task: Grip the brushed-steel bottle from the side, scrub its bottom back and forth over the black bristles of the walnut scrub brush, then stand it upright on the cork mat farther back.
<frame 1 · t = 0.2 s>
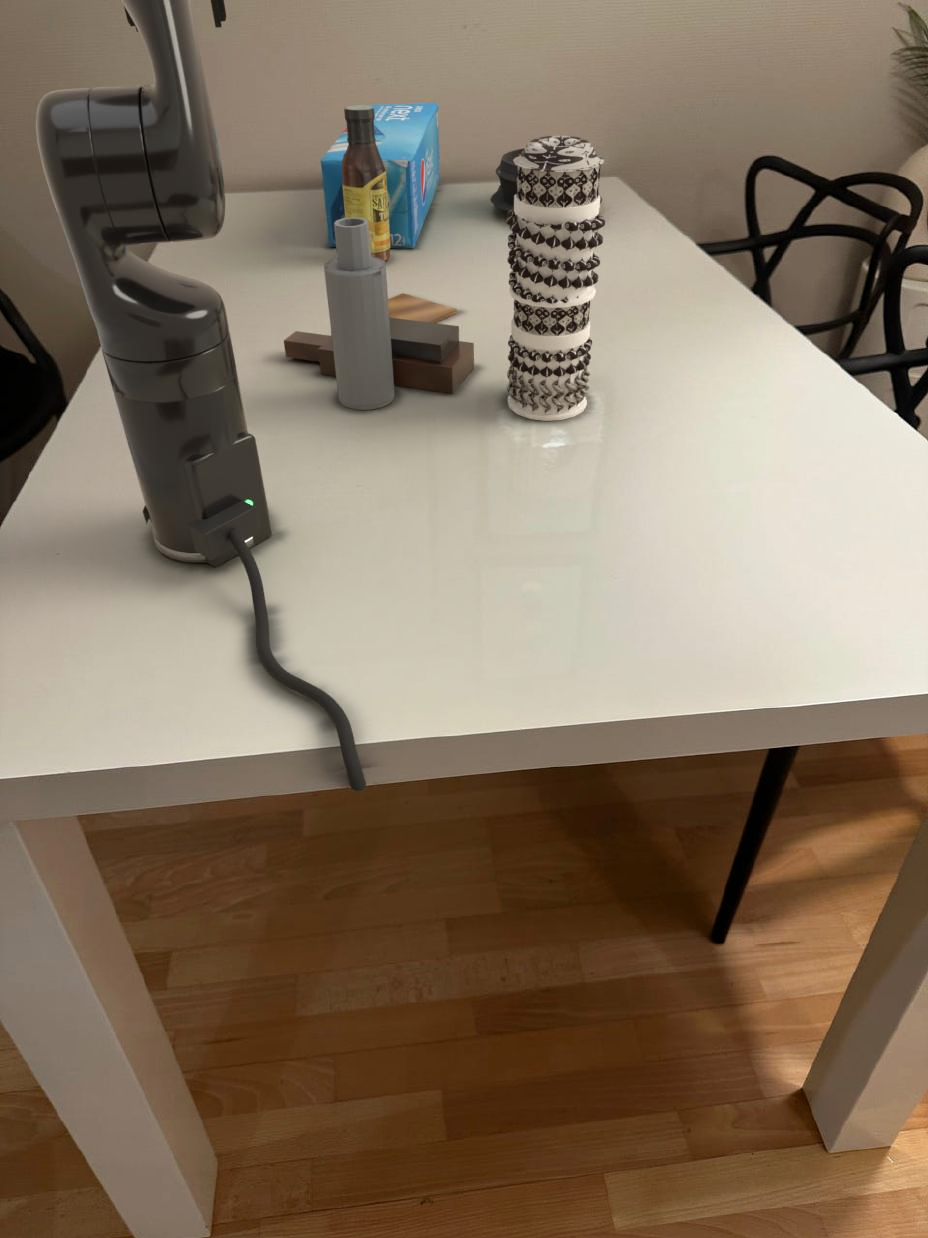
hand: (179, 25, 100), 31 cm above the table, tool tilted 20°, fingers open, 8 cm apart
decorative candle: (546, 404, 95), on the table
soda pack: (390, 212, 151), on the table
steel bottle: (366, 397, 97), on the table
scrub brush: (397, 371, 102), on the table
cork mat: (404, 315, 115), on the table
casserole: (545, 212, 150), on the table
sauce bottle: (370, 261, 132), on the table
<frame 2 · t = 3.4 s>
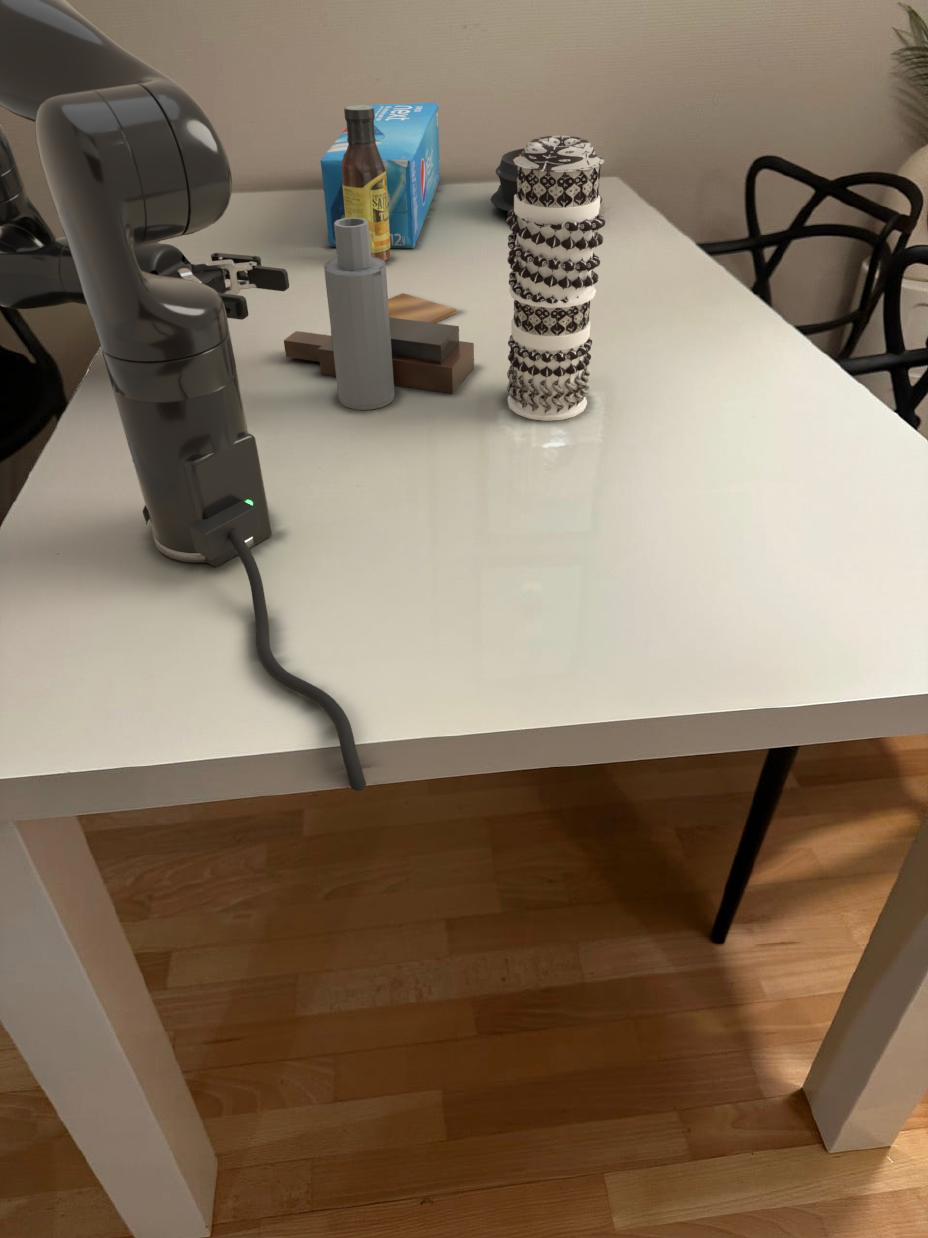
hand: (267, 293, 93), 10 cm above the table, tool horizontal, fingers open, 8 cm apart
nothing on the table moved.
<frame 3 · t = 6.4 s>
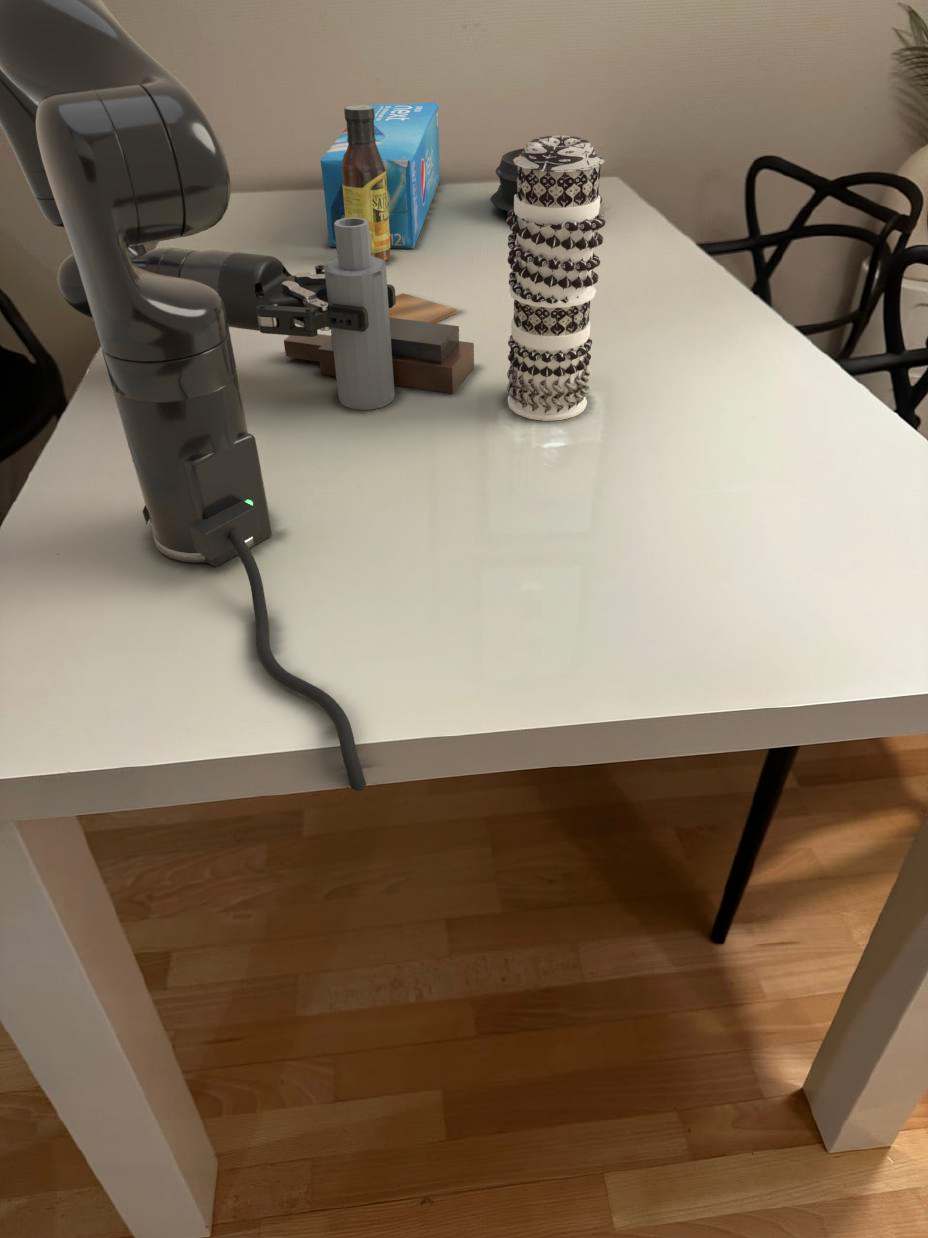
hand: (380, 307, 90), 10 cm above the table, tool horizontal, fingers closed on steel bottle, 6 cm apart
steel bottle: (366, 397, 97), on the table, touching gripper
everything else where it was.
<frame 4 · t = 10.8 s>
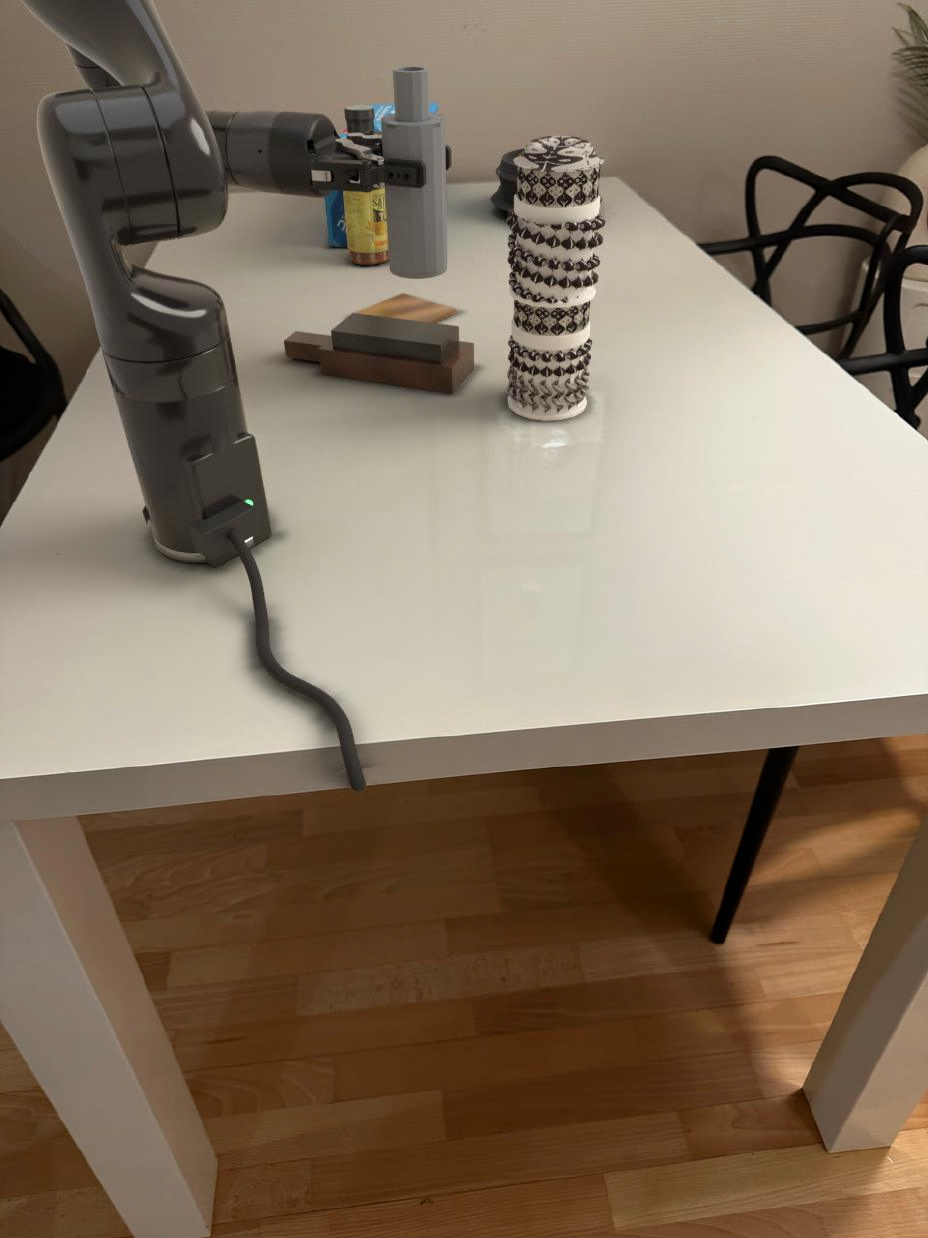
hand: (437, 166, 86), 22 cm above the table, tool horizontal, fingers closed on steel bottle, 6 cm apart
steel bottle: (418, 268, 93), point 12 cm above the table, touching gripper
everything else where it was.
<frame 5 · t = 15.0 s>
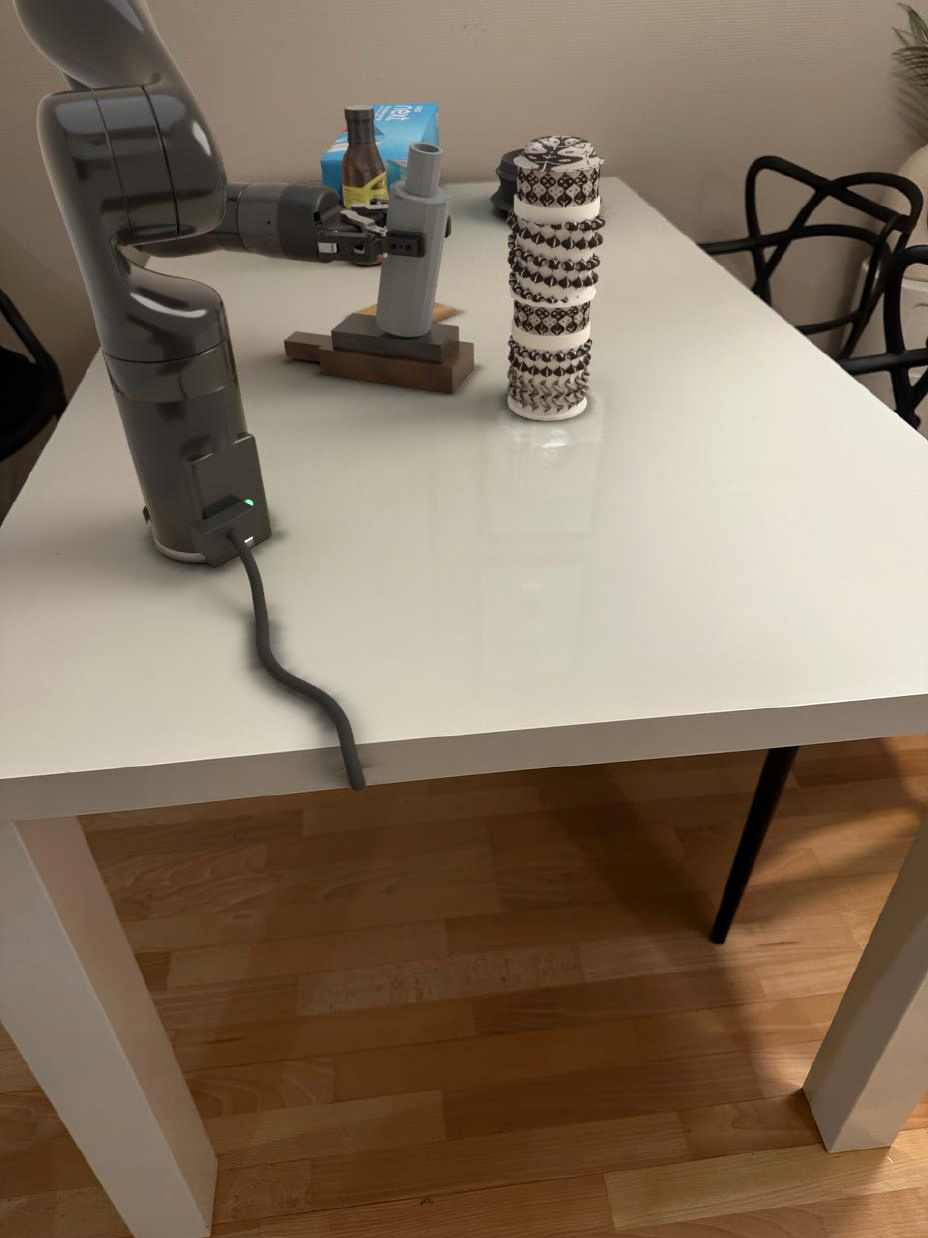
hand: (437, 235, 91), 15 cm above the table, tool horizontal, fingers closed on steel bottle, 6 cm apart
steel bottle: (402, 323, 98), point 6 cm above the table, tilted 11°, touching gripper
everything else where it was.
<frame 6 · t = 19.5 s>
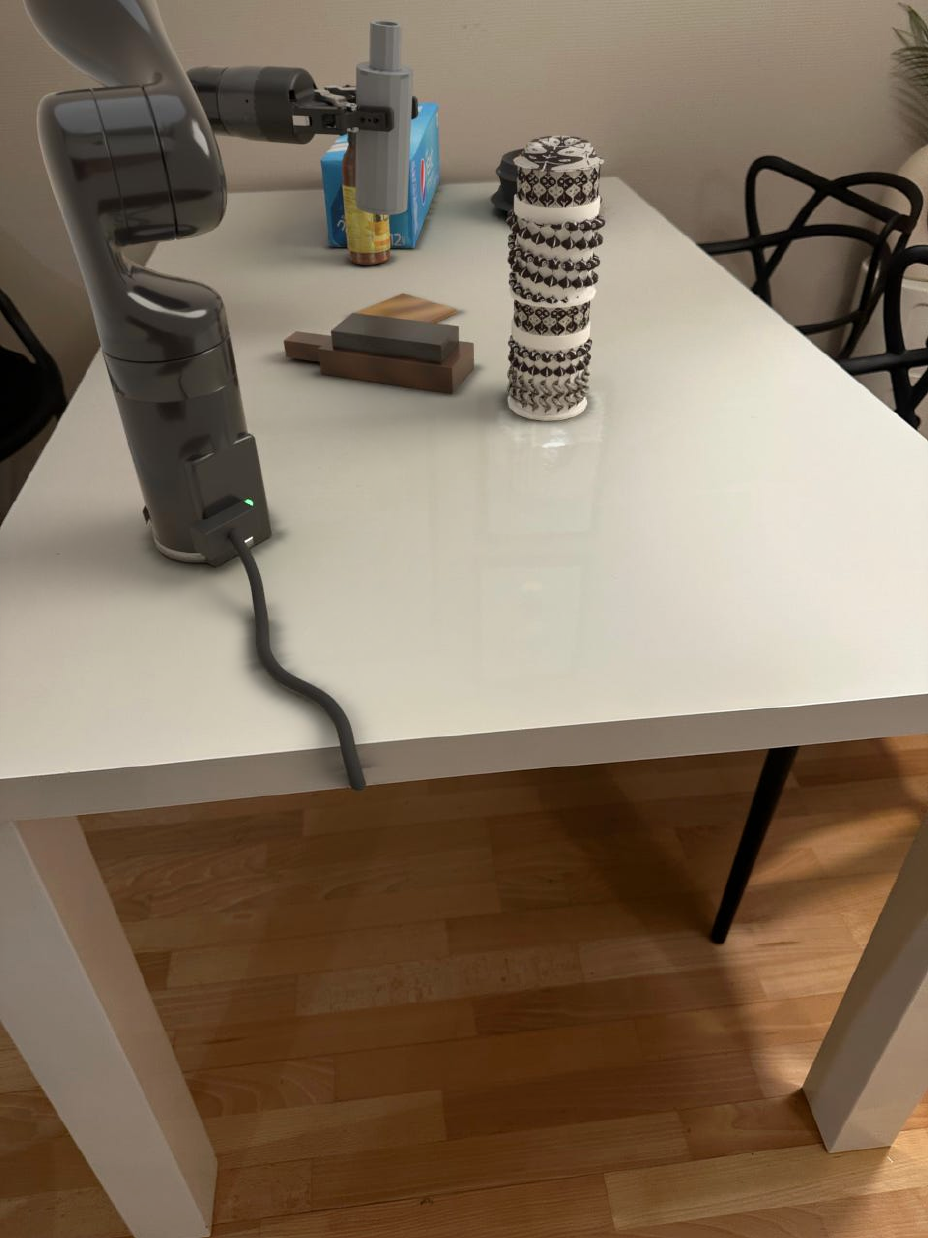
hand: (404, 113, 97), 24 cm above the table, tool horizontal, fingers closed on steel bottle, 6 cm apart
steel bottle: (381, 206, 104), point 14 cm above the table, tilted 6°, touching gripper
everything else where it was.
when the fingers open (11 cm above the table, at t = 23.8 s): steel bottle stays where it is, resting on cork mat.
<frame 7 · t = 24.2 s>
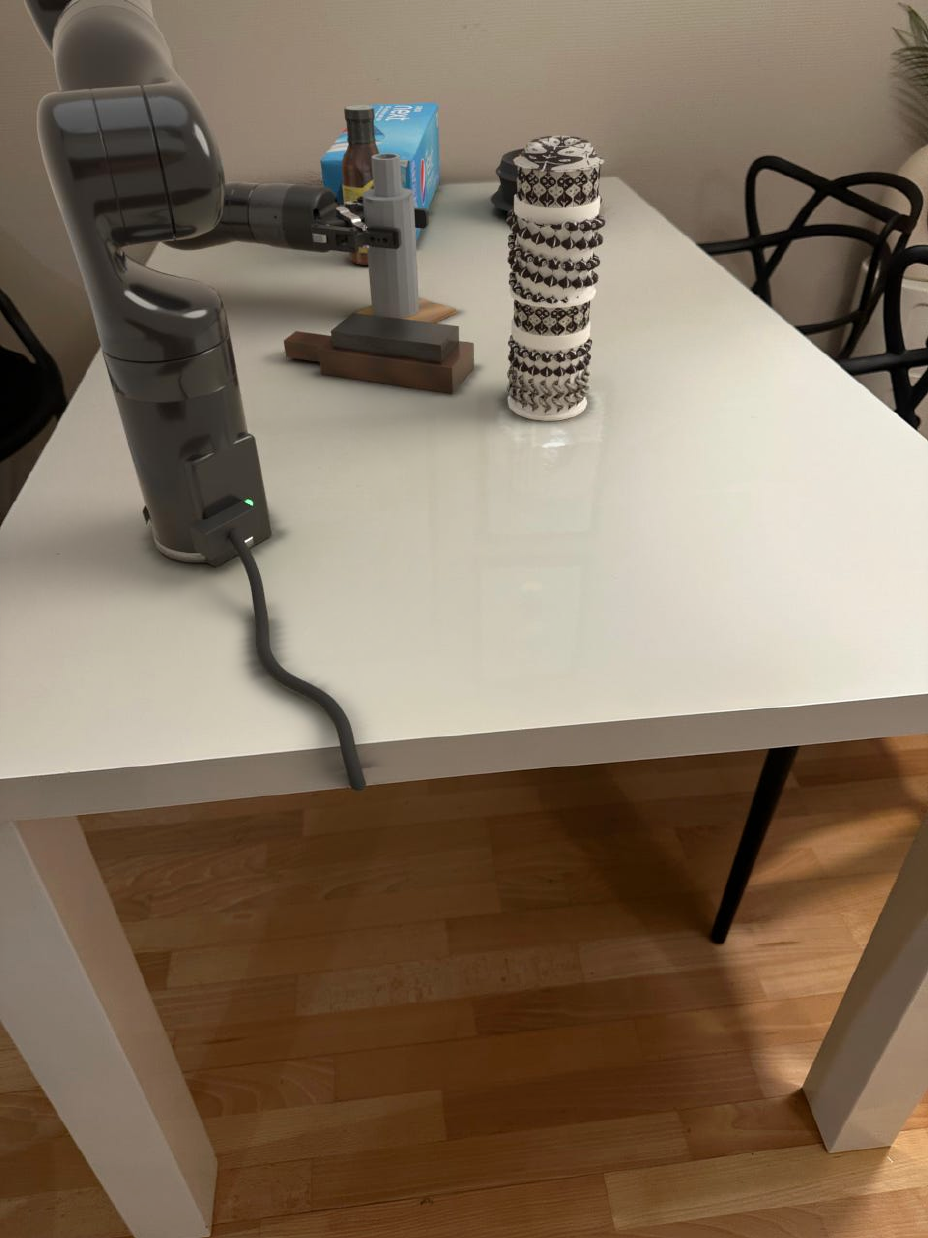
hand: (414, 228, 107), 11 cm above the table, tool horizontal, fingers open, 8 cm apart
steel bottle: (395, 310, 115), point 1 cm above the table, touching cork mat
everything else where it was.
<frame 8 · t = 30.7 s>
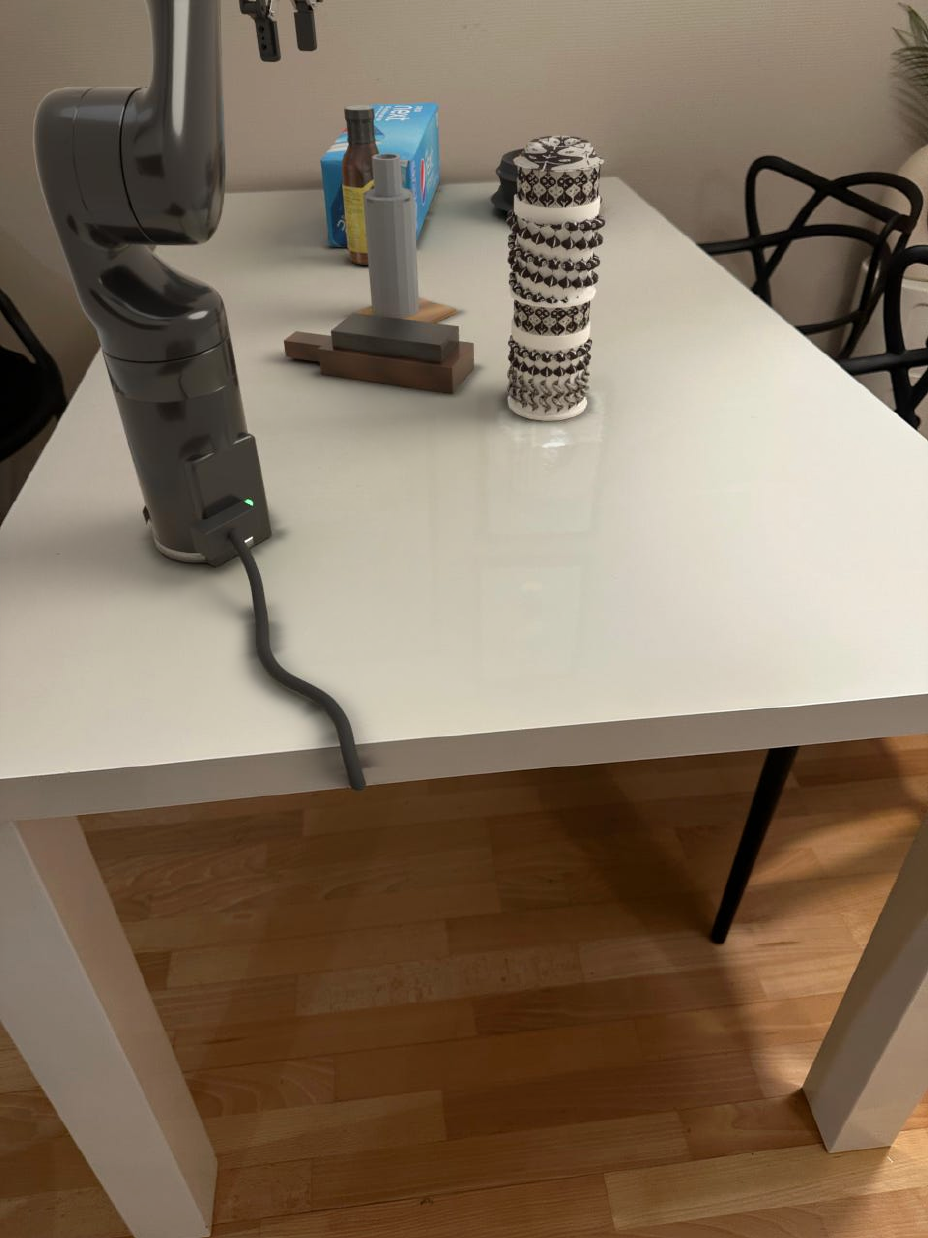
hand: (290, 55, 100), 28 cm above the table, tool pointing down, fingers open, 8 cm apart
nothing on the table moved.
at the end: steel bottle 1.2 cm off-centre on the cork mat, point 0.5 cm above the cork mat's base; steel bottle tilted 0°; the gripper is holding nothing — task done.
